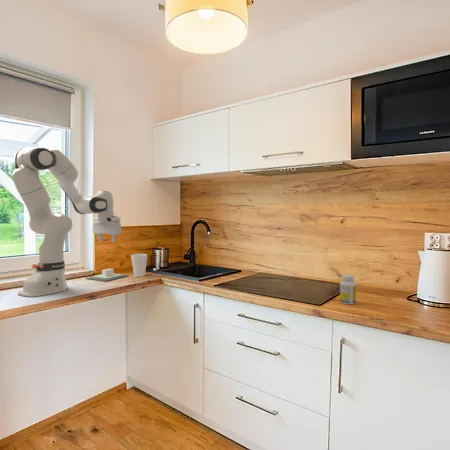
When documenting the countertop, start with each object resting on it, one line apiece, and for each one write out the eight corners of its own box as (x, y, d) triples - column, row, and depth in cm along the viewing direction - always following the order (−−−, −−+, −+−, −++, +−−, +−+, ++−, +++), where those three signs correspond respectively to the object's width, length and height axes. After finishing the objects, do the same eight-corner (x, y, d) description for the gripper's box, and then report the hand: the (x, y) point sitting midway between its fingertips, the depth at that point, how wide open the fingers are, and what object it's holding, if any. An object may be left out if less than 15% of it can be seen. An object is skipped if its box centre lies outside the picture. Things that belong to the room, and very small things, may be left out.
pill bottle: (354, 301, 148) (355, 275, 148) (356, 305, 142) (357, 277, 142) (339, 300, 150) (339, 274, 150) (340, 304, 144) (340, 277, 143)
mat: (105, 281, 190) (105, 280, 190) (86, 279, 197) (86, 278, 197) (128, 276, 205) (128, 275, 205) (109, 273, 213) (109, 273, 213)
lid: (107, 279, 193) (107, 272, 193) (92, 277, 199) (92, 270, 199) (122, 275, 204) (122, 268, 204) (108, 274, 209) (108, 267, 209)
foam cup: (130, 275, 209) (130, 254, 208) (145, 273, 213) (145, 253, 212) (133, 277, 200) (132, 256, 200) (148, 276, 204) (148, 255, 204)
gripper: (89, 218, 202) (90, 241, 203) (114, 218, 192) (115, 242, 193) (97, 218, 207) (98, 240, 208) (122, 218, 198) (123, 241, 199)
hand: (107, 241), depth 200 cm, fingers open, 8 cm apart
